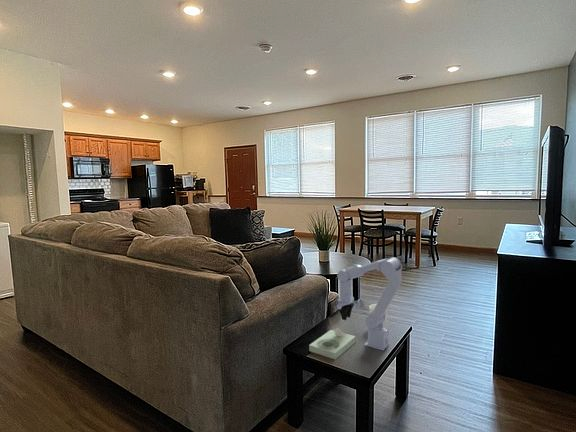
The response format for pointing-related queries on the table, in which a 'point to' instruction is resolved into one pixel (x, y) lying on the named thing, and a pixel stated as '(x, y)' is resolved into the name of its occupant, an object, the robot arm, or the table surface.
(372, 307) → the candle holder
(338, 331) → the ball
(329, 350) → the putting board
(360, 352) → the table surface
